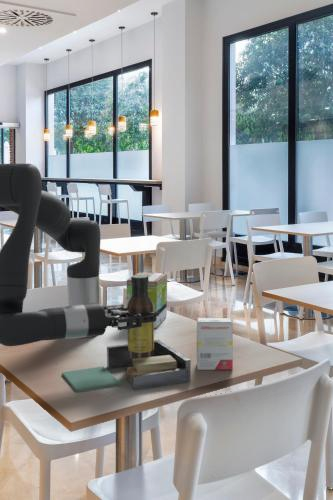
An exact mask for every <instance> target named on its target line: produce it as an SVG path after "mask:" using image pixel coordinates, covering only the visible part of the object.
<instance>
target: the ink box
mask: <svg viewBox="0 0 333 500" xmlns="http://www.w3.org/2000/svg"><path fill="white" fill-rule="evenodd" d="M233 323H234V322H233V320H232V318H231V317H226V318H225V317H219V318H218V317H197V318H196V369H197V370H198V371H206V370H207V371H208V370H209V371H210V370H212V371H213V370H214V371H218V370H219V371H221V370H223V371H224V370H228V371H229V370H230V371H231V370H233V369H234V367H233V363H234V362H233V360H234V355H233V353H234V352H233V350H234V348H233V347H234V343H233V339H234V337H233V335H234V333H233V331H234V329H233V328H234V325H233Z"/></svg>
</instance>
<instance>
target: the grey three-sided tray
mask: <svg viewBox="0 0 333 500" xmlns="http://www.w3.org/2000/svg"><path fill="white" fill-rule="evenodd" d="M165 355H170V356H171V357H173V358H174V359H175V360H176V361H177V369H171V370H165V371H158V372H152V373H145V374H139V375H132V384H131V390H132V391H133V392H134V391H141V390H147V389H151V388H158V387H164V386H170V385H176V384H182V383H183V384H184V383H187V382H191V376H192V374H191V368H192V367H191V364H192V363H191V362H192V361H191V359H190V358H189V357H187V356H185V355H183V354H182V353H180V352H179V351H178V350H176V349H174V348H173V347H171V346H169V345H168V344H167V343H164V342H163V341H161V340H160V339H154V350H153V357H155V356H165ZM127 366H133V359H132V358H130V357H129V350H128V343H125V344H117V345H112V346H111V345H110V346H109V345H107V346H106V367H107V368H108V369H111V368H119V367H127Z"/></svg>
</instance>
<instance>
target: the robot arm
mask: <svg viewBox="0 0 333 500" xmlns="http://www.w3.org/2000/svg"><path fill="white" fill-rule="evenodd" d="M40 172H41V171H40V170H39V168H38V167H37V165H35V164H32V163H0V207H1V208H4V209H6V210H9V211H10V212H14V213H15V214H16V215H17V220H16V223H15V225H14V227H13V229H12V231H11V233H10V234H9V236H8V238H7V240H6V241H5V242H4V244H3V246H2V248H1V249H0V345H2V346H5V347H17V346H23V345H28V344H33V343H37V342H41V341H55V340H64V339H80V338H81V339H82V338H92V337H98V336H103V335H104V334H105V333H106V329H107V328H108V327H111V328H112V329H113V328H117V330H119V331H124V330H128V329H131V328H137V327H142V323H148V322H155V321H156V313H155V312H147V313H131V311H127V307H128V306H127V305H125V304H123V303H122V304H116V305H115V304H112V305H111V304H110V305H103V304H102V303H101V299H100V298H101V296H100V294H101V293H100V263H101V229H100V224H99V223H98V222H97V221H96V220H92V219H91V220H86V219H83V220H81V219H72V214H71V210H70V208H69V206H68V205H67V204H66V203H65V202H64V201H63V200H62V199H60V198H59V197H58V196H56V195H55V194H53V193H51V192H48V191H46V190H42V189H43V179H42V175H41V173H40ZM36 228H37V229H38V230H40V231H41V232H43V233H45V234H46V235H48V236H49V237H51V238H52V239H53V240H55V242H56V243H57V244H58V245H59V246H60V247H61V248H62V249H63V250H64V251H66V252H70V253H84V258H83V259H82V260H80V261H79V262H78V261H77V262H76V263H73V264H70V265H68V266H67V269H66V281H67V282H66V285H67V305H66V306H62V307H51V308H43V309H40V310H38V311H28V312H27V311H25V312H23V308H24V301H25V299H26V298H27V293H28V281H29V262H30V254H31V249H32V248H31V247H32V243H33V238H34V234H35V230H36ZM127 316H128V317H127ZM134 319H136V321H133V320H134Z"/></svg>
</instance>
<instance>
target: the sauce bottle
mask: <svg viewBox="0 0 333 500" xmlns="http://www.w3.org/2000/svg"><path fill="white" fill-rule="evenodd" d="M130 278H131V282H132V297H131V299H130V300H129V302H128V307H127V311H131V313H147V312H153V303H152V301H151V299H150V298H149V296H148V281H149V280H148V276H147V275H136V274H134V275H131V276H130ZM127 317H128V316H127ZM133 321H136V319H134V320H133ZM154 340H155V328H154V322H148V323H142V327H137V328H131V329H127V344H128V350H129V357H130V358H132V359H136V358H146V357H153V350H154Z"/></svg>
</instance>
